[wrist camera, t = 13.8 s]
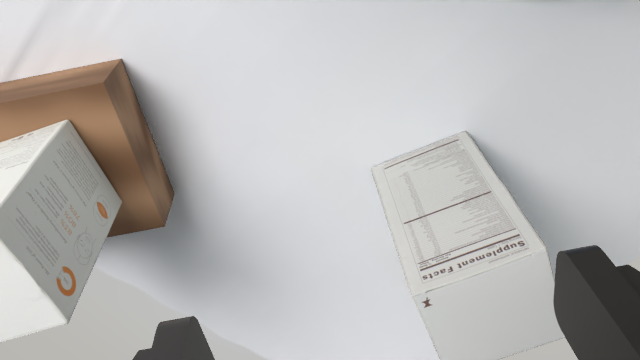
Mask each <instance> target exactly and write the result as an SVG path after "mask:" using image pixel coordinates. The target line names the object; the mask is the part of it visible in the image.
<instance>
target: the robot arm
mask: <svg viewBox="0 0 640 360" xmlns="http://www.w3.org/2000/svg"><path fill="white" fill-rule="evenodd" d="M553 304H554V311H555V315H556V319H557V322H558V324H559V327H560V329H561V331H562V332H563V334H564V336H565V337H566V339H567V341H568V343H569V344H570V346H571V348H572V349H573V351H574V353H575V355H576V356H577V358H578V359H579V360H640V272H639V271H638V270H636V269H635V268H633V267H631V266H630V265H624V266H618V267H616V266H615V265H614V264H613V263H612V261H611V260H610V259H609V258H608V257H607V255H606V254H605V253H604V252H603V250H602V249H601V248H600V247H598V246H596V245H593V246H588V247H582V248H576V249H571V250H565V251H560V252H559V253H558V255H557V259H556V273H555V286H554V299H553ZM133 360H215V359H214V357H213V354H212V352H211V350H210V347H209V345H208V343H207V341H206V338H205V336H204V334H203V332H202V329H201V327H200V324H199V322H198V320H197V319H196V318H195V317H194V316H192V317H186V318H181V319H175V320H169V321H164V322H160V323H159V325H158V327H157V330H156V334H155V337H154V341H153V345H152V348H150V349H145V350H139V351H138V352H137V354H136V355H135V357H134V358H133Z"/></svg>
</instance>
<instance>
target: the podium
mask: <svg viewBox="0 0 640 360" xmlns="http://www.w3.org/2000/svg"><path fill="white" fill-rule="evenodd" d="M64 120H69V121H70V122H71V124H72V125H73V127H74V128H75V130H76V131H77V133H78V134H79V136H80V138H81V139H82V141H83V142H84V144H85V145H86V147H87V148H88V150H89V151H90V153H91V154H92V156H93V157H94V159H95V160H96V162H97V163H98V165H99V167H100V168H101V170H102V171H103V173H104V174H105V176H106V177H107V179H108V180H109V182H110V184H111V185H112V187H113V188H114V190H115V191H116V193H117V194H118V196H119V197H120V199H121V200H122V204H121V206H120V208H119V210H118V213H117V215H116V217H115V219H114V222H113V224H112V226H111V228H110V231H109V233H108V235H107V237H111V236H117V235H122V234H127V233H133V232H138V231H143V230H149V229H154V228H159V227H164V226H165V223H166V220H167V217H168V213H169V210H170V207H171V203H172V200H173V197H174V191H173V189H172V186H171V184H170V181H169V179H168V176H167V174H166V171H165V169H164V166H163V164H162V161H161V158H160V156H159V153H158V151H157V148H156V146H155V143H154V141H153V138H152V136H151V133H150V131H149V128H148V126H147V123H146V120H145V118H144V115H143V113H142V110H141V108H140V105H139V103H138V100H137V98H136V95H135V93H134V90H133V88H132V85H131V83H130V80H129V77H128V75H127V72H126V70H125V67H124V65H123V62H122V60H121V59H118V60H113V61H108V62H103V63H98V64H93V65H88V66H83V67H78V68H73V69H68V70H63V71H58V72H53V73H48V74H43V75H38V76H33V77H28V78H23V79H18V80H13V81H8V82H3V83H0V142H3V141H6V140H9V139H12V138H15V137H18V136H21V135H24V134H26V133H29V132H32V131H35V130H38V129H41V128H44V127H46V126H49V125H52V124H55V123H58V122H61V121H64Z"/></svg>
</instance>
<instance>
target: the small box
mask: <svg viewBox="0 0 640 360" xmlns="http://www.w3.org/2000/svg"><path fill="white" fill-rule="evenodd" d="M121 204H122V200H121V199H120V197H119V196H118V194H117V193H116V191H115V190H114V188H113V187H112V185H111V184H110V182H109V180H108V179H107V177H106V176H105V174H104V173H103V171H102V170H101V168H100V167H99V165H98V163H97V162H96V160H95V159H94V157H93V156H92V154H91V153H90V151H89V150H88V148H87V147H86V145H85V144H84V142H83V141H82V139H81V138H80V136H79V134H78V133H77V131H76V130H75V128H74V127H73V125H72V124H71V122H70V121H69V120H64V121H61V122H58V123H55V124H52V125H49V126H46V127H44V128H41V129H38V130H35V131H32V132H29V133H26V134H24V135H21V136H18V137H15V138H12V139H9V140H6V141H3V142H0V342H4V341H8V340H11V339H15V338H18V337H22V336H25V335H28V334H32V333H35V332H39V331H42V330H46V329H50V328H53V327H57V326H61V325H65V324H68V323H69V321H70V318H71V316H72V314H73V311H74V309H75V307H76V305H77V302H78V300H79V298H80V296H81V293H82V291H83V289H84V287H85V284H86V282H87V280H88V278H89V276H90V273H91V271H92V269H93V266H94V264H95V262H96V260H97V257H98V255H99V253H100V251H101V249H102V246H103V244H104V242H105V240H106V237H107V235H108V233H109V231H110V228H111V226H112V224H113V222H114V219H115V217H116V215H117V213H118V210H119V208H120V206H121Z"/></svg>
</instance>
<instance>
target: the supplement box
mask: <svg viewBox="0 0 640 360" xmlns="http://www.w3.org/2000/svg"><path fill="white" fill-rule="evenodd" d="M371 171H372V175H373V178H374V181H375V184H376V187H377V190H378V193H379V196H380V200H381V203H382V206H383V209H384V213H385V216H386V219H387V222H388V225H389V228H390V231H391V234H392V237H393V241H394V244H395V247H396V250H397V253H398V256H399V259H400V262H401V265H402V268H403V271H404V275H405V278H406V281H407V284H408V287H409V290H410V293H411V296H412V298H413V300H414V302H415V304H416V307H417V309H418V311H419V313H420V315H421V318H422V320H423V322H424V324H425V326H426V329H427V331H428V333H429V335H430V338H431V340H432V342H433V344H434V347H435V349H436V351H437V353H438V356H439V358H440V360H499V359H502V358H505V357H508V356H511V355H514V354H517V353H520V352H523V351H526V350H529V349H532V348H535V347H538V346H541V345H544V344H547V343H549V342H553V341H556V340H559V339H562V338H565V336H564V334H563V332H562V331H561V329H560V327H559V324H558V322H557V319H556V315H555V311H554V304H553V299H554V286H555V282H554V277H553V273H552V269H551V265H550V260H549V256H548V251H547V247H546V246H545V244H544V243H543V241H542V240H541V238H540V237H539V235H538V234H537V232H536V231H535V229H534V228H533V227H532V225H531V224H530V222H529V221H528V219H527V218H526V217H525V215H524V214H523V212H522V211H521V209H520V208H519V206H518V205H517V203H516V202H515V201H514V199H513V197H512V195H511V194H510V193H509V191H508V190H507V188H506V186H505V185H504V184H503V182H502V181H501V180H500V179H499V178H498V176H497V175H496V173H495V172H494V170H493V169H492V167H491V166H490V164H489V163H488V161H487V160H486V158H485V157H484V156H483V154H482V153H481V151H480V150H479V148H478V147H477V145H476V144H475V142H474V141H473V140H472V138H471V137H470V135H469V134H468V133H467V132H466V131H463V132H461V133H458V134H456V135H453V136H451V137H448V138H446V139H443V140H441V141H438V142H436V143H433V144H430V145H428V146H425V147H423V148H420V149H418V150H415V151H413V152H410V153H408V154H405V155H403V156H400V157H398V158H395V159H393V160H390V161H388V162H385V163H383V164H380V165H378V166H375V167H373V168H372V169H371Z"/></svg>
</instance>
